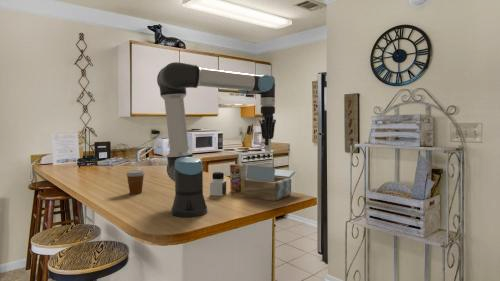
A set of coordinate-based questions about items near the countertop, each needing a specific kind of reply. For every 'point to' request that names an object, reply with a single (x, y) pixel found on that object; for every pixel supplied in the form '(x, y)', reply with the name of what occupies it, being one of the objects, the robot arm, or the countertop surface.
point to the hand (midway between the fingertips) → (268, 151)
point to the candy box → (237, 178)
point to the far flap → (284, 173)
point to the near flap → (260, 173)
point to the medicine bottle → (218, 184)
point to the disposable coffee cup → (135, 181)
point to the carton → (268, 188)
